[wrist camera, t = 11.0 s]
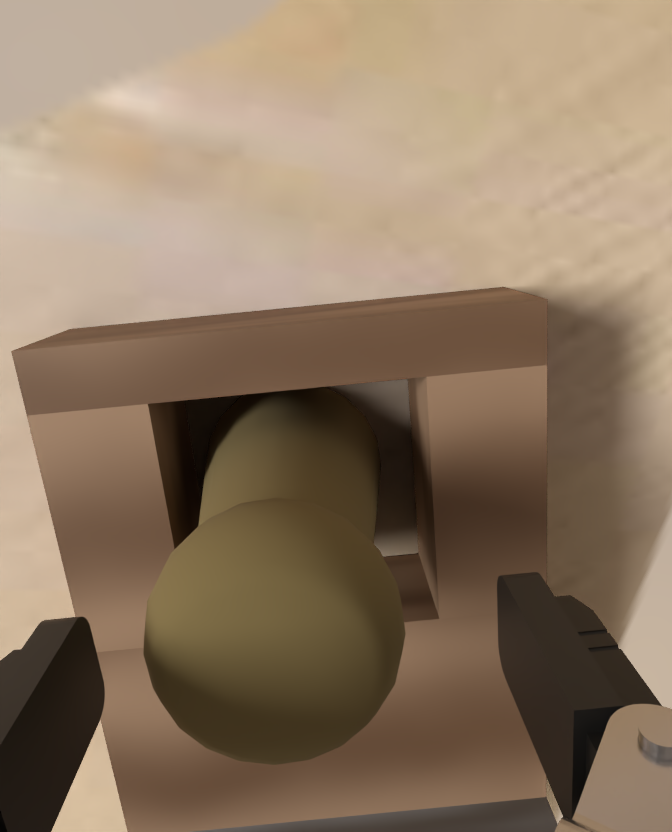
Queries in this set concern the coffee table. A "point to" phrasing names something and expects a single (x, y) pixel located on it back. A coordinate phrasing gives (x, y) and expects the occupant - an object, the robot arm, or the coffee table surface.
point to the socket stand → (415, 574)
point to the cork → (279, 586)
